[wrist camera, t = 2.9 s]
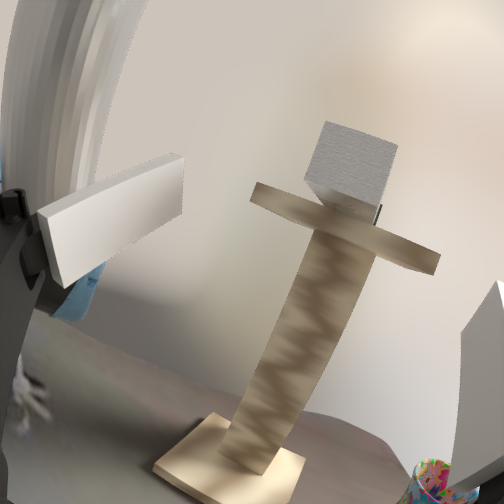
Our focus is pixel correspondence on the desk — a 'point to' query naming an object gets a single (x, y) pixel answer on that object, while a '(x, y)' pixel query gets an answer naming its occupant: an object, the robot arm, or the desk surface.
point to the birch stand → (287, 359)
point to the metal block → (350, 171)
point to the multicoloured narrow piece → (433, 485)
